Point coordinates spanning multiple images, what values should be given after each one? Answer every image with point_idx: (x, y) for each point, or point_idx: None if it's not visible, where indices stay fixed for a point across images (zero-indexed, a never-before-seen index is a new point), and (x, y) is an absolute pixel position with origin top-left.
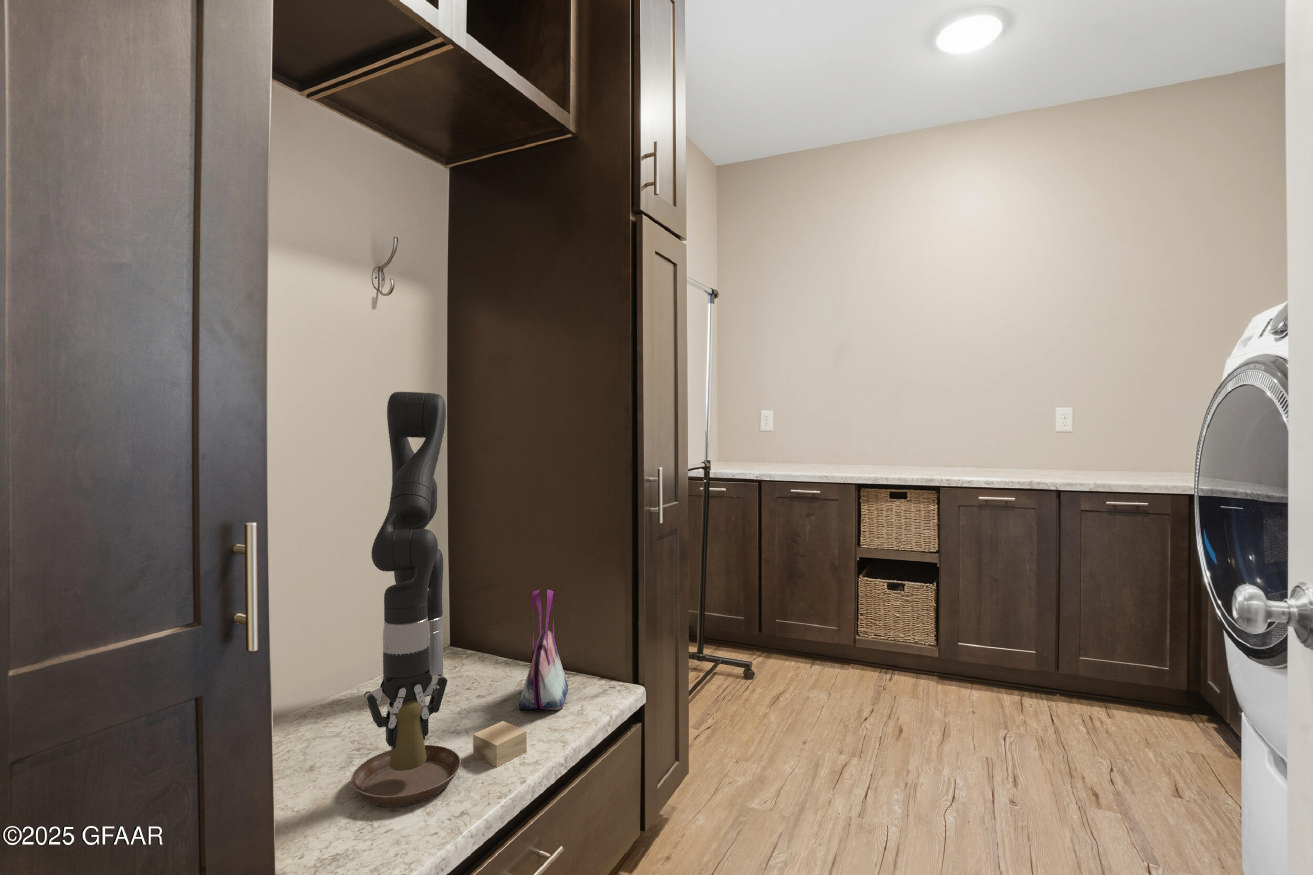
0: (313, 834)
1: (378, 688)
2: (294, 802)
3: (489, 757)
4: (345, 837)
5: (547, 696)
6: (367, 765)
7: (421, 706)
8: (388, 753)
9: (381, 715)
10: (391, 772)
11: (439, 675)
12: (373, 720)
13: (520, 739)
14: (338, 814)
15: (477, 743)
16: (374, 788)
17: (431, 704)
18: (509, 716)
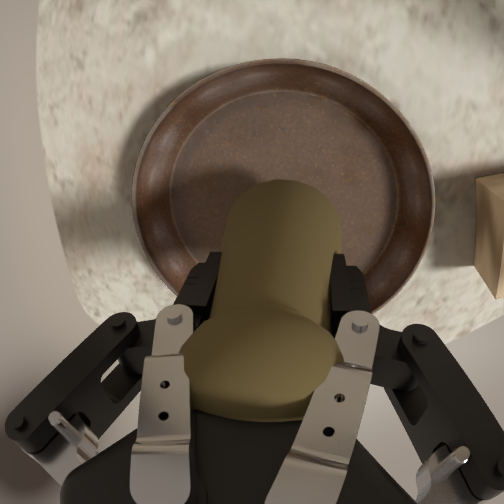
0: (99, 274)
1: (60, 484)
2: (53, 147)
3: (482, 249)
4: (147, 311)
5: None
6: (181, 108)
7: None
8: (255, 69)
9: (129, 401)
10: (255, 131)
11: (491, 495)
12: (105, 321)
13: None
14: (129, 241)
15: (494, 214)
16: (199, 195)
17: (401, 376)
18: None
